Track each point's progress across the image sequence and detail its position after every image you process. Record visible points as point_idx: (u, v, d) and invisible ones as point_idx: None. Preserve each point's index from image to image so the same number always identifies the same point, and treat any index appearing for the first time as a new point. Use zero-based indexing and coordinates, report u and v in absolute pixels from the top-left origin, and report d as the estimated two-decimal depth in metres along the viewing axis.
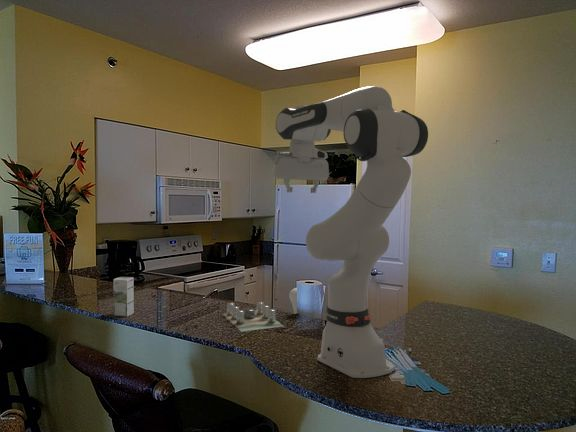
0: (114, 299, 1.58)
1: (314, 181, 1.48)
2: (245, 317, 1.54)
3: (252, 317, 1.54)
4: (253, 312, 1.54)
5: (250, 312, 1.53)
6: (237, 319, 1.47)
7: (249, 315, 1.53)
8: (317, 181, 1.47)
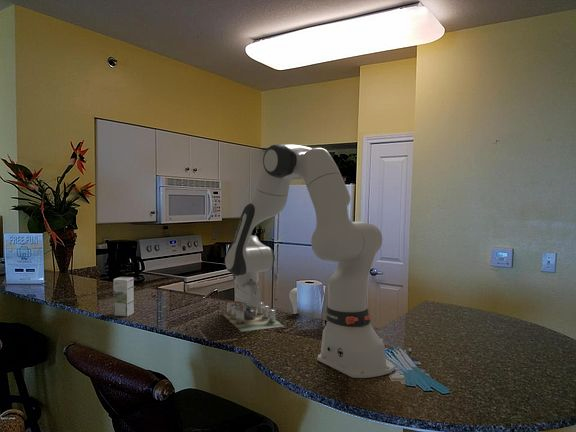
0: (114, 299, 1.58)
1: None
2: (246, 318, 1.53)
3: (253, 318, 1.53)
4: (254, 313, 1.53)
5: (251, 313, 1.53)
6: (237, 319, 1.47)
7: (250, 316, 1.53)
8: None
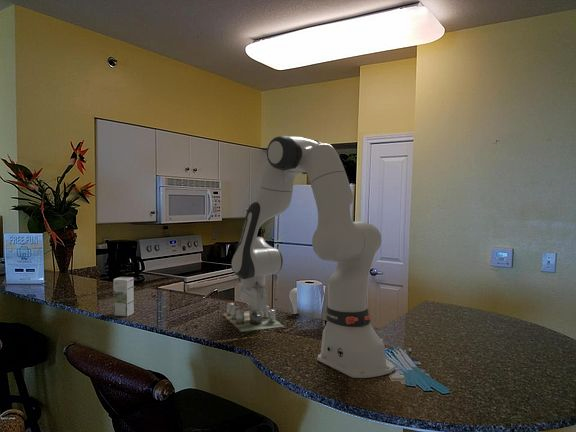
0: (114, 299, 1.58)
1: (251, 305, 1.53)
2: (252, 322, 1.47)
3: (259, 322, 1.47)
4: (260, 317, 1.47)
5: (257, 317, 1.47)
6: (237, 319, 1.47)
7: (256, 321, 1.46)
8: None
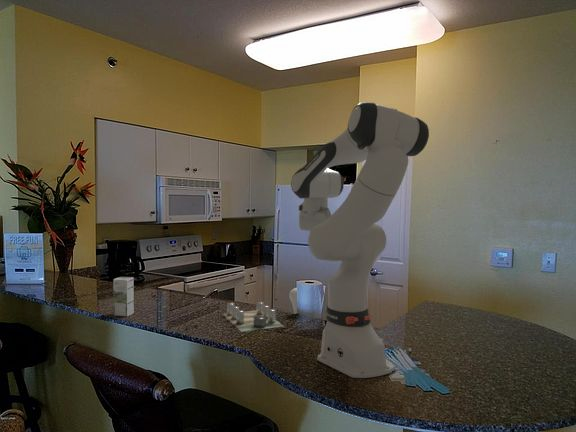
0: (114, 299, 1.58)
1: None
2: (255, 326, 1.43)
3: (263, 326, 1.43)
4: (264, 320, 1.43)
5: (261, 320, 1.43)
6: (237, 319, 1.47)
7: (260, 324, 1.43)
8: None
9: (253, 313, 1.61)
